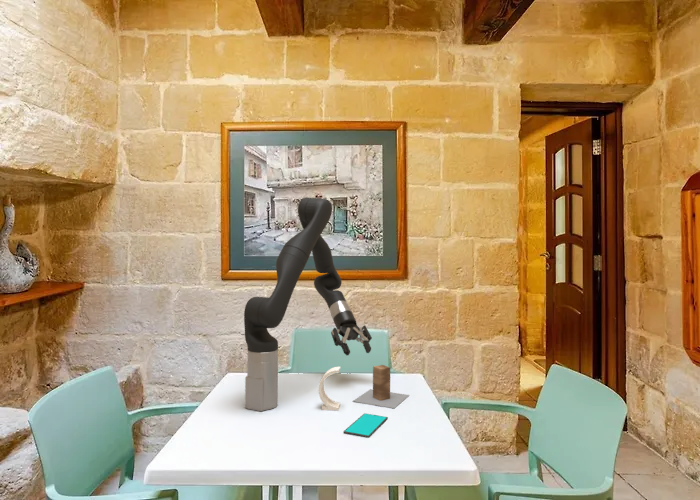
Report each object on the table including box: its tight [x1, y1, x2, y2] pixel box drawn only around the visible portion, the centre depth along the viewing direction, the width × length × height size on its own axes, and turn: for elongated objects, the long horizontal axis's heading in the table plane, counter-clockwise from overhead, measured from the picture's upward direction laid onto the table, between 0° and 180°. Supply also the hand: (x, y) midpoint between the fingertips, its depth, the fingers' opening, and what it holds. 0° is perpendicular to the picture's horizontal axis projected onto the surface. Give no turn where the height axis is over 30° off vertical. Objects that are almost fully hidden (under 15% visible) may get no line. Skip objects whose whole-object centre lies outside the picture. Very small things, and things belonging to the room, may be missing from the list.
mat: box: [352, 388, 410, 409], centre depth 149 cm, size 14×14×1 cm
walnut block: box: [372, 364, 391, 401], centre depth 149 cm, size 4×4×10 cm
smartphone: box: [343, 412, 388, 439], centre depth 126 cm, size 7×1×15 cm
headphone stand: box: [318, 366, 341, 411], centre depth 140 cm, size 5×6×12 cm
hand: (359, 353), depth 160 cm, fingers open, 8 cm apart
